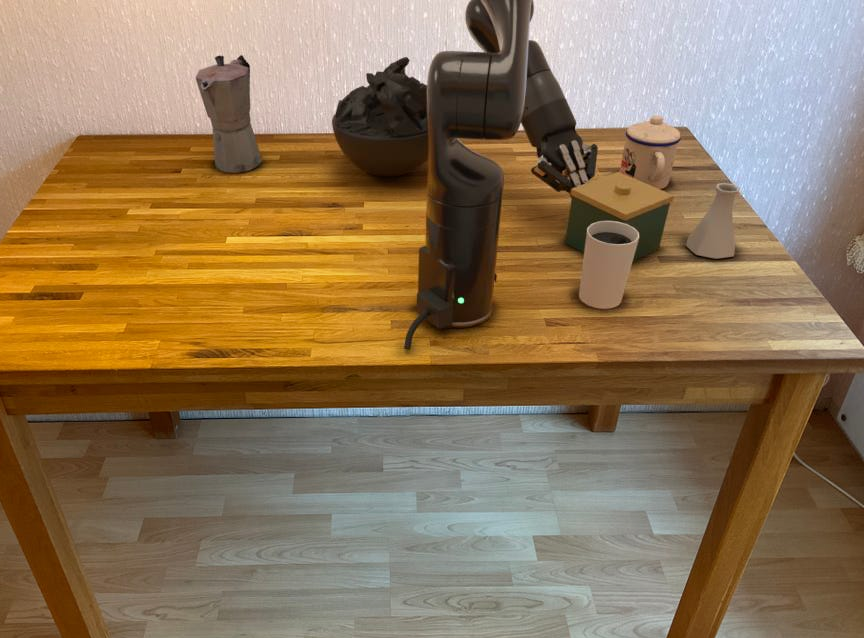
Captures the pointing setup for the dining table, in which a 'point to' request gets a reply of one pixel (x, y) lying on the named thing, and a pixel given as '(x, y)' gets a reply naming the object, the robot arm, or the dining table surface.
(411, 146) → the bowl of black rocks
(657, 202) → the tea tin
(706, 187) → the dining table surface
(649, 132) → the teacup with lid
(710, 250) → the flask
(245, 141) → the moka pot
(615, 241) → the white tumbler cup
